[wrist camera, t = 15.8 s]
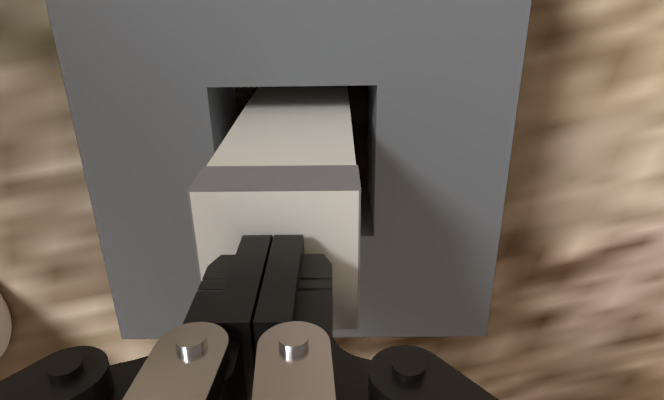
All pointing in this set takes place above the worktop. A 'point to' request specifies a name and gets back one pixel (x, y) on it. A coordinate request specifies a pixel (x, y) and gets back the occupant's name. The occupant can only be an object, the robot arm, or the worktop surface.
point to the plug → (286, 185)
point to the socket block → (301, 70)
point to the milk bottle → (4, 326)
